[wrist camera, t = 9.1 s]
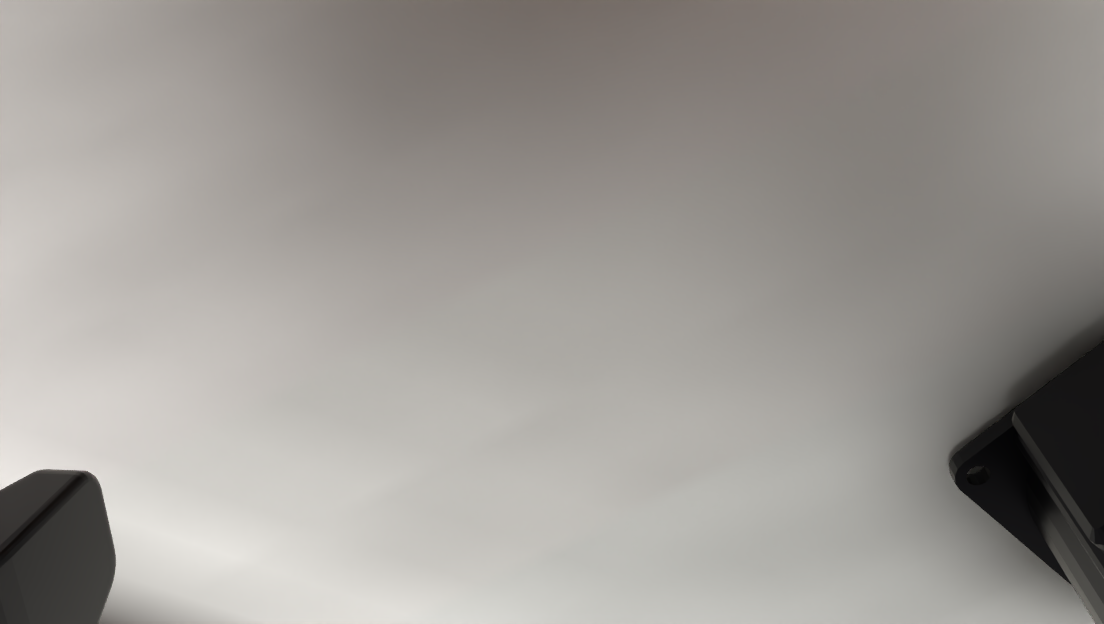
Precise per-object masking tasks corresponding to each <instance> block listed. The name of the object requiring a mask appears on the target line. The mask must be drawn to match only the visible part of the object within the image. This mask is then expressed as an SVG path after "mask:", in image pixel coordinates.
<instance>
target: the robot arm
mask: <svg viewBox="0 0 1104 624" xmlns="http://www.w3.org/2000/svg"><path fill="white" fill-rule="evenodd" d="M976 466H984V467H983V468H982V469H981V470H980V471H979V472H977V473H975V474H967V473H968V472H969V471H970V469H972V468H974V467H976ZM949 471H950V474H951V476H952V478H953V480H954V482H955V484H956V485H957V486H958V488H959V489H960V490H961V491H962V492H963V493H964V494H966V495H967V496H968V497H969V498H970V499H971V500H973V501H974V502H975V503H976V504H977V505H978V506H980V507H981V508H982V509H983V510H984V511H985V512H987V513H988V514H989V515H990V516H991V517H992V518H994V519H995V520H996V521H997V522H998V523H1000V524H1001V525H1002V526H1003V527H1004V528H1005V529H1007V530H1008V531H1009V532H1010V533H1011V534H1012V535H1014V536H1015V537H1016V538H1017V539H1018V540H1019V541H1021V542H1022V543H1023V544H1024V545H1025V546H1026V547H1028V548H1029V549H1030V550H1031V551H1032V552H1033V553H1035V554H1036V555H1037V556H1038V557H1039V558H1040V559H1042V560H1043V561H1044V562H1045V563H1046V564H1048V565H1049V566H1050V567H1051V568H1052V569H1053V570H1055V571H1056V572H1057V573H1058V574H1059V575H1060V576H1062V577H1063V578H1064V579H1065V580H1066V581H1067V582H1069V583H1070V584H1071V585H1072V586H1073V587H1074V589H1075V591H1076V592H1077V594H1078V596H1079V597H1080V599H1081V601H1082V602H1083V604H1084V606H1085V607H1086V609H1087V610H1088V612H1089V614H1090V615H1091V617H1092V619H1093V620H1094V622H1095V624H1104V341H1103V342H1102V343H1100V344H1099V345H1098V346H1096V347H1095V348H1094V349H1092V350H1091V351H1090V352H1088V353H1087V354H1086V355H1085V356H1083V357H1082V358H1081V359H1079V360H1078V361H1077V362H1075V363H1074V364H1073V365H1071V366H1070V367H1069V368H1067V369H1066V370H1065V371H1063V372H1062V373H1061V374H1060V375H1058V376H1057V377H1056V378H1054V379H1053V380H1052V381H1050V382H1049V383H1048V384H1046V385H1045V386H1044V387H1042V388H1041V389H1040V390H1038V391H1037V392H1036V393H1035V394H1033V395H1032V396H1031V397H1029V398H1028V399H1027V400H1025V401H1024V402H1023V403H1021V404H1020V405H1019V406H1017V407H1016V408H1015V409H1013V410H1012V411H1011V412H1010V413H1008V414H1007V415H1006V416H1004V417H1003V418H1002V419H1000V420H999V421H998V422H996V423H995V424H994V425H992V426H991V427H990V428H988V429H987V430H986V431H985V432H983V433H982V434H981V435H979V436H978V437H977V438H975V439H974V440H973V441H971V442H970V443H969V444H967V445H966V446H965V447H963V448H962V449H961V450H960V451H958V452H957V453H956V454H955V455H954V456H953V457H952V459H951V461H950V464H949ZM115 566H116V555H115V549H114V544H113V540H112V535H111V530H110V526H109V521H108V517H107V512H106V508H105V503H104V499H103V494H102V490H101V487H100V484H99V482H98V480H97V478H96V477H95V476H94V475H93V474H91V473H89V472H88V471H77V470H51V469H46V470H39V471H36V472H33V473H31V474H29V475H28V476H26V477H24V478H22V479H20V480H18V481H17V482H15V483H13V484H11V485H9V486H7V487H5V488H4V489H2V490H0V624H99V621H100V618H101V615H102V612H103V609H104V607H105V604H106V601H107V598H108V595H109V592H110V590H111V587H112V583H113V580H114V575H115Z"/></svg>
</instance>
